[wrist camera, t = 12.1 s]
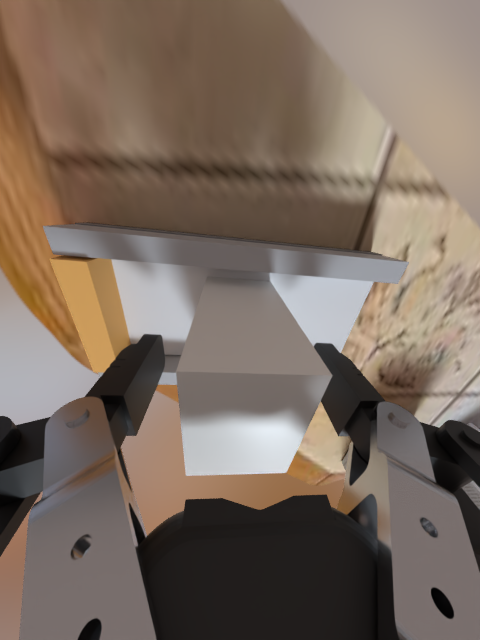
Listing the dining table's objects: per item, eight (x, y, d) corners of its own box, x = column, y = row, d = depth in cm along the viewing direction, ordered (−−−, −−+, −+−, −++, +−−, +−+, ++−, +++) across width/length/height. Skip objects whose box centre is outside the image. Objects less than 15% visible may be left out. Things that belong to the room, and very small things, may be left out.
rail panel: (371, 252, 13) (414, 262, 10) (324, 362, 17) (343, 391, 15) (87, 222, 11) (35, 224, 8) (123, 355, 16) (99, 387, 13)
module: (271, 281, 12) (334, 375, 5) (258, 349, 14) (287, 472, 8) (206, 276, 11) (173, 371, 4) (205, 347, 14) (184, 475, 7)
